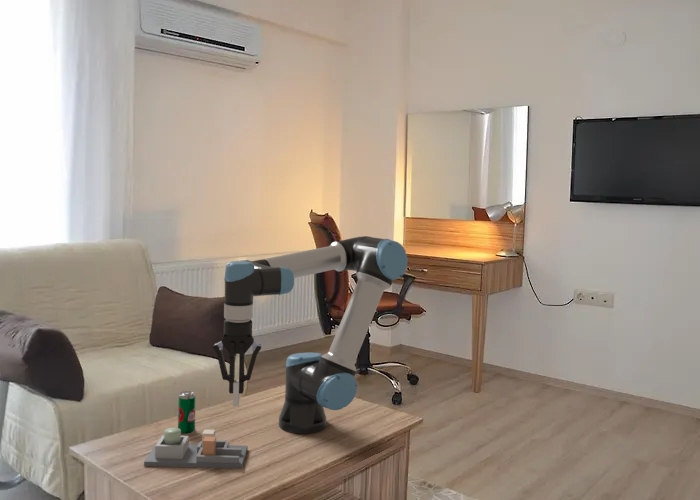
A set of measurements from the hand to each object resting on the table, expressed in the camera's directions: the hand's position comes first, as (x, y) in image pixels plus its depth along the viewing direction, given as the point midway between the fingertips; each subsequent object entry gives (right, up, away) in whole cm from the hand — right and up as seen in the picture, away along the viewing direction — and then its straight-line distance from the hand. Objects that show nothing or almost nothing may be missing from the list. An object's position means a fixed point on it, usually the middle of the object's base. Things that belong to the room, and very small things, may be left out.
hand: (236, 404), depth 173 cm
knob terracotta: (-8, -14, +1) cm, 16 cm away
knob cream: (-9, -14, +6) cm, 18 cm away
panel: (-11, -16, +4) cm, 20 cm away
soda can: (-19, -14, +21) cm, 32 cm away
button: (-18, -11, +3) cm, 21 cm away
